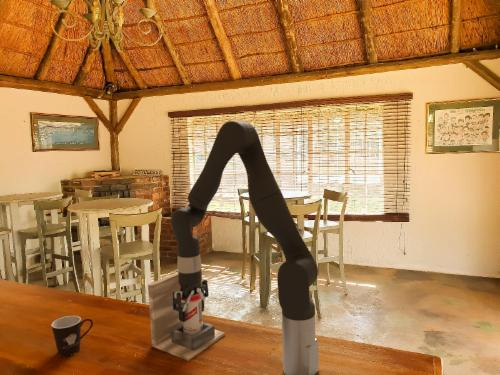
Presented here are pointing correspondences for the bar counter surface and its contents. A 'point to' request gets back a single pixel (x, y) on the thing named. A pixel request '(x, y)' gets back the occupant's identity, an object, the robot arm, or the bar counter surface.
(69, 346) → the coffee mug
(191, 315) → the beer can
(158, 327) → the can rack
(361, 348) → the bar counter surface
